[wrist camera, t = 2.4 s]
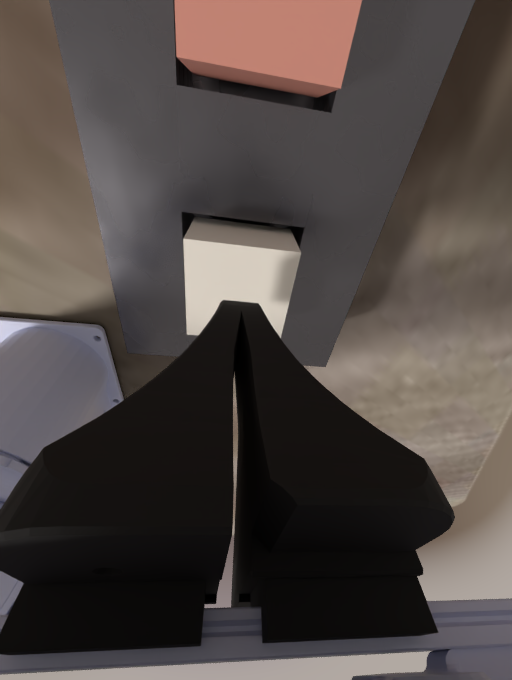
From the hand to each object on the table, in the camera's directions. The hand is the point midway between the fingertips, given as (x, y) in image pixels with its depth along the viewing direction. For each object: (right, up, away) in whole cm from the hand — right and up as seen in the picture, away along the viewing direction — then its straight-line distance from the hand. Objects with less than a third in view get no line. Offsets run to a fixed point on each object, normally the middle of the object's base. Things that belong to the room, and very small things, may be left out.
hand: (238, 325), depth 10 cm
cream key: (0, +3, +4) cm, 5 cm away
